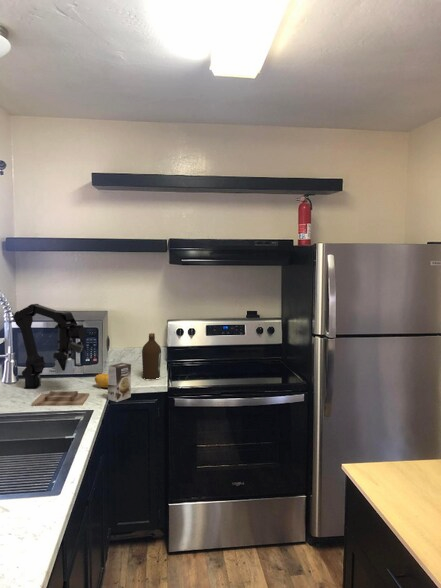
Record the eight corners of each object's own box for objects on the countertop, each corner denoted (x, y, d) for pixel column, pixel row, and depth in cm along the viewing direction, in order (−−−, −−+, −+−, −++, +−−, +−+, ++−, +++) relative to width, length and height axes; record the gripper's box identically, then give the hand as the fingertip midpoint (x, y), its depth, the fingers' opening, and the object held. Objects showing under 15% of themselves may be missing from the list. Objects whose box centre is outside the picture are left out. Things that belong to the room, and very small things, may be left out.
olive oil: (142, 380, 237) (142, 335, 235) (141, 375, 247) (141, 332, 246) (161, 380, 239) (162, 335, 238) (160, 375, 250) (160, 332, 248)
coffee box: (117, 402, 200) (117, 367, 199) (107, 399, 204) (107, 365, 203) (131, 397, 208) (131, 363, 207) (121, 394, 211) (121, 362, 210)
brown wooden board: (31, 405, 193) (31, 399, 192) (42, 395, 208) (42, 389, 207) (82, 405, 195) (82, 398, 195) (89, 395, 210) (89, 389, 210)
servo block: (52, 373, 212) (51, 359, 211) (54, 371, 216) (54, 357, 215) (75, 373, 213) (75, 359, 212) (77, 371, 217) (77, 357, 216)
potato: (101, 384, 229) (101, 371, 228) (124, 387, 223) (124, 374, 223) (92, 387, 222) (92, 374, 222) (115, 391, 217) (115, 377, 216)
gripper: (77, 341, 205) (77, 373, 206) (85, 334, 223) (85, 364, 224) (52, 340, 203) (53, 373, 205) (63, 334, 222) (63, 364, 223)
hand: (64, 369), depth 214 cm, fingers closed on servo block, 4 cm apart
